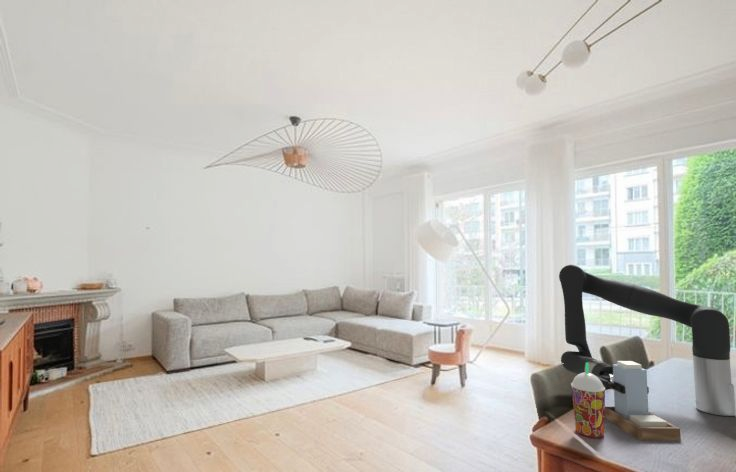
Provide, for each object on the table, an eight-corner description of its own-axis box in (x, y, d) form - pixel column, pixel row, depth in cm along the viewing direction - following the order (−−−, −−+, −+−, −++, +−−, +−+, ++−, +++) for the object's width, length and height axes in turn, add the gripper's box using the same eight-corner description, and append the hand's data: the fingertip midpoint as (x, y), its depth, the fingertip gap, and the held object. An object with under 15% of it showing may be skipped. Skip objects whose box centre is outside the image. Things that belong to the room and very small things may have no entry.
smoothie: (566, 431, 112) (563, 359, 113) (594, 430, 113) (591, 359, 114) (585, 444, 104) (582, 367, 105) (615, 443, 104) (611, 366, 106)
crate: (603, 420, 120) (603, 406, 120) (640, 420, 120) (639, 406, 120) (638, 443, 104) (638, 428, 104) (681, 444, 104) (680, 428, 104)
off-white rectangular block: (630, 429, 110) (629, 415, 111) (655, 429, 110) (654, 415, 110) (641, 436, 106) (640, 421, 106) (667, 436, 106) (666, 421, 106)
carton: (615, 414, 118) (612, 360, 119) (635, 415, 118) (632, 360, 119) (627, 423, 112) (625, 365, 113) (649, 423, 112) (646, 365, 113)
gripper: (579, 362, 130) (610, 377, 114) (623, 362, 130) (660, 377, 113) (580, 385, 130) (611, 403, 113) (624, 385, 130) (661, 403, 113)
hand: (635, 390), depth 113 cm, fingers closed on carton, 6 cm apart
